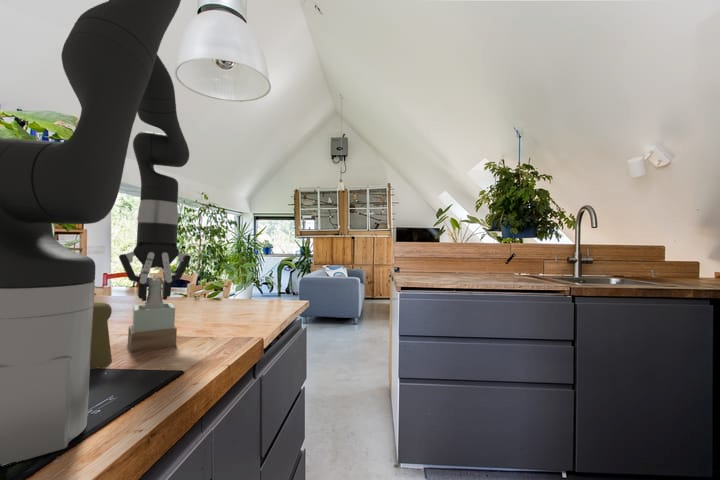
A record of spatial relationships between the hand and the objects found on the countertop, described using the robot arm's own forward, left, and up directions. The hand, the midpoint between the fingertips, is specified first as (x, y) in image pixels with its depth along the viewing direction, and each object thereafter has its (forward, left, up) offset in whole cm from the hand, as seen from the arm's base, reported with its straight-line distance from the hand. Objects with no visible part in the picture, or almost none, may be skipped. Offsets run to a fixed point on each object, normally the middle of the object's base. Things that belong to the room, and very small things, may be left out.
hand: (154, 299), depth 68 cm
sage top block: (0, 0, -6) cm, 6 cm away
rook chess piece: (0, 0, -3) cm, 3 cm away
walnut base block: (0, 0, -10) cm, 10 cm away
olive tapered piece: (-7, +10, -10) cm, 16 cm away
